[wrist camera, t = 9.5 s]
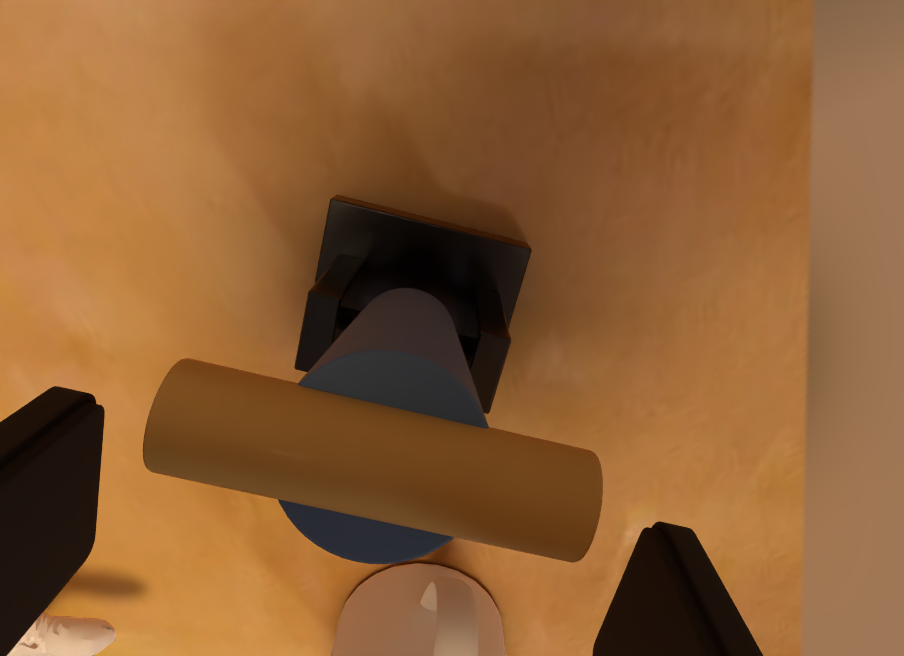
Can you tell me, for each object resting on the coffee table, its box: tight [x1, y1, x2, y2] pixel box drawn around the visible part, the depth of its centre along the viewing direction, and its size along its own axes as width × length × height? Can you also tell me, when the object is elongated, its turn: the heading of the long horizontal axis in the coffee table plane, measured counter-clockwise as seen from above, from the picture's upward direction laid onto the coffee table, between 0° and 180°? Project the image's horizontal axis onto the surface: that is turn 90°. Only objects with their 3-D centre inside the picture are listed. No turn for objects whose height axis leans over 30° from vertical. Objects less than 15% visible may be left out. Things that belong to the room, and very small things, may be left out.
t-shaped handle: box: [143, 288, 603, 564], centre depth 14 cm, size 12×6×3 cm
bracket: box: [295, 195, 532, 413], centre depth 22 cm, size 6×8×6 cm
